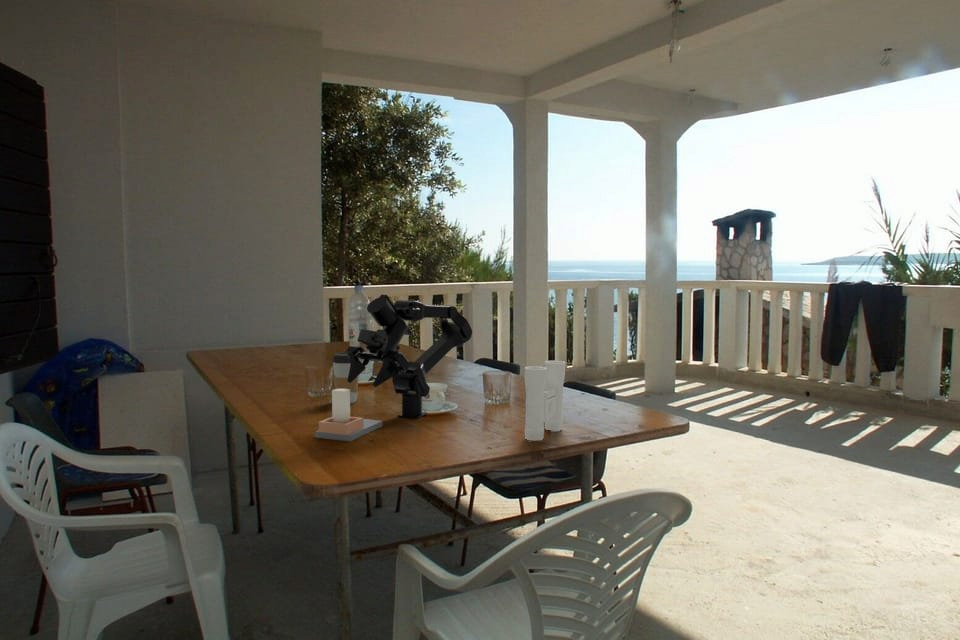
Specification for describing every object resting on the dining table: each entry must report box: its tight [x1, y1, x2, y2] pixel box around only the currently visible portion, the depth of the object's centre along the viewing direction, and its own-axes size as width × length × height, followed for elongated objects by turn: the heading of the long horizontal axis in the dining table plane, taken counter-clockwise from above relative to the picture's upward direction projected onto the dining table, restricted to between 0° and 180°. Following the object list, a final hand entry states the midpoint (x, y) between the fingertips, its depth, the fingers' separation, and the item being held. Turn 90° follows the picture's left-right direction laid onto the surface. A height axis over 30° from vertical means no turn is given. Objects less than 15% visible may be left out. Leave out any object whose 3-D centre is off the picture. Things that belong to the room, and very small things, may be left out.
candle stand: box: [314, 415, 383, 442], centre depth 170 cm, size 16×10×4 cm, turn 160°
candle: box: [331, 388, 351, 424], centre depth 166 cm, size 4×4×10 cm
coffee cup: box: [332, 352, 360, 405], centre depth 206 cm, size 8×8×15 cm
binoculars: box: [524, 359, 566, 441], centre depth 169 cm, size 17×5×18 cm, turn 150°
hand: (361, 384), depth 171 cm, fingers open, 9 cm apart
